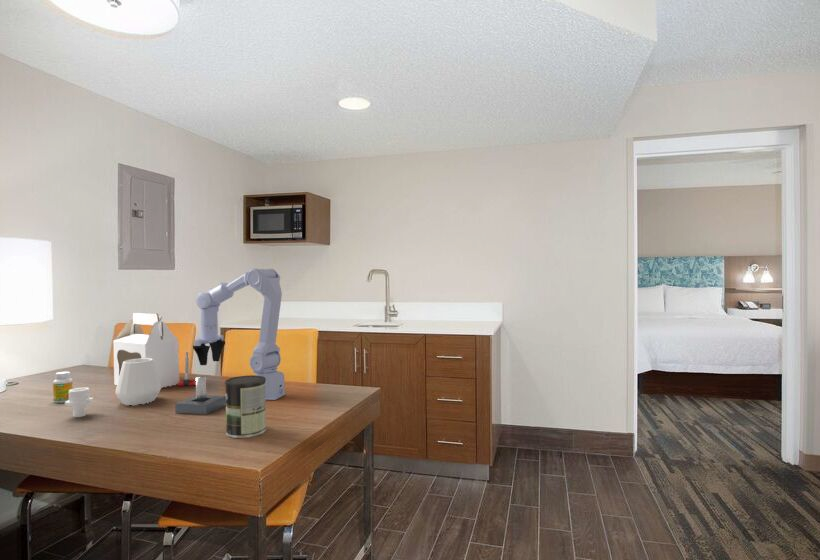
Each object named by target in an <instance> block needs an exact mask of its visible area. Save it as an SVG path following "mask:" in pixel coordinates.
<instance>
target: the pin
mask: <svg viewBox="0 0 820 560" xmlns="http://www.w3.org/2000/svg"><path fill="white" fill-rule="evenodd" d="M195 379H196V386H195V395H196V401H197V402H204V401H206V395H207V376H196V377H195Z"/></svg>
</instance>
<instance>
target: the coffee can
mask: <svg viewBox="0 0 820 560" xmlns="http://www.w3.org/2000/svg"><path fill="white" fill-rule="evenodd" d="M265 381H266V378H265V377H263V376H256V375H255V374H254V375H252V374H250V375H240V376H235V377H231V378H228V379H226V380H224V385H225V386H224V387H225V396H226V406H225V423H226V424H225V429H226V430H225V431H226V432H225V435H226V436H227V437H229V438H233V439H247V438H248V439H249V438H253V437H257V436H261V435H262V434H264V433H265V432H266V431H267V424H266V423H267V420H266V418H267V417H266V416H267V413H266V408H267V407H266V400H265Z"/></svg>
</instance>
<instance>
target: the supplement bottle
mask: <svg viewBox="0 0 820 560" xmlns="http://www.w3.org/2000/svg"><path fill="white" fill-rule="evenodd" d="M70 376H71V372H70V371H58V372H56V373H55V378H56V379H54V380H53V384H52V388H53V389H52V391H53V393H52V394H53V398H52V399H53V403H55V404H60V403H61V404H62V403H65V402H66V401H68V400H69V390H71V389H74V386H73V385H74V384H73V382H74V381H73V380H74V379H73V378H71V377H70Z"/></svg>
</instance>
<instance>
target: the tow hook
mask: <svg viewBox="0 0 820 560" xmlns="http://www.w3.org/2000/svg"><path fill="white" fill-rule="evenodd" d="M184 358H185V359H184V363H185V364H184V367H185V369H184V379H183V380H181V381H179V382H178V384H177V385H176V386H178V387H193V386H194V385H196V382H194V381H196V378H195V379H191V378H190V372H189V370H190V369H189V367H190V366H189V365H190V363H189V360H190V359H189V352H185V357H184ZM194 387H195V386H194Z"/></svg>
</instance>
